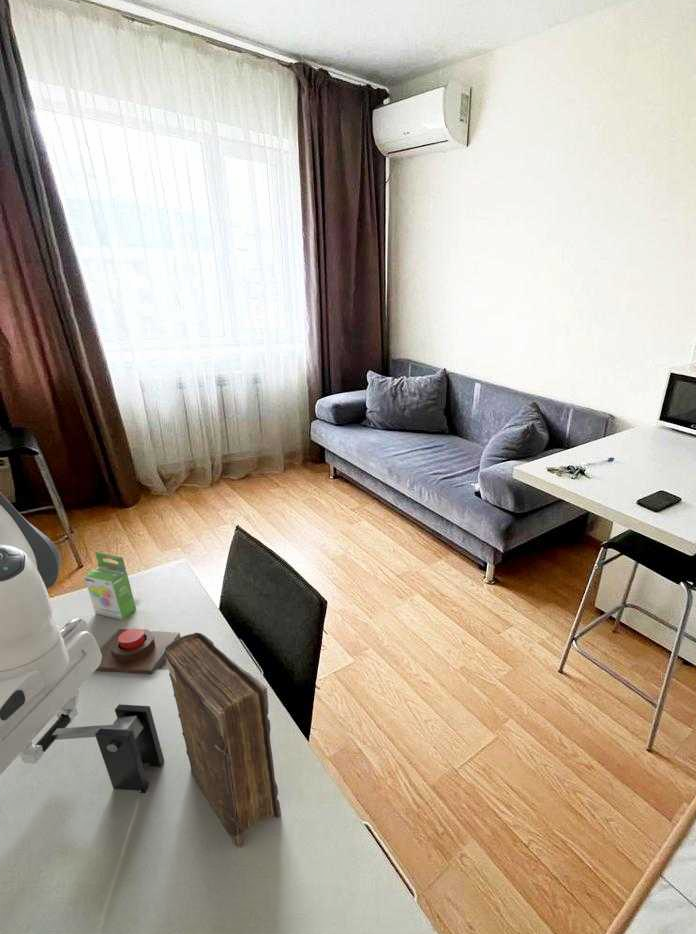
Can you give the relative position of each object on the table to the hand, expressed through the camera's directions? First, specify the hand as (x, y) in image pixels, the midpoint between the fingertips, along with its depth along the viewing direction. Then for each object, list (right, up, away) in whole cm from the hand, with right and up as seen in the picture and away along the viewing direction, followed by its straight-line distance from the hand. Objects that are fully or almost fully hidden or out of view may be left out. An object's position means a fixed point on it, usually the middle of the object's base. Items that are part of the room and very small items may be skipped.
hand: (52, 738), depth 69 cm
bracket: (+10, -8, +4) cm, 14 cm away
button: (-4, +6, +24) cm, 25 cm away
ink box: (-16, +8, +36) cm, 40 cm away
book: (+24, -10, +3) cm, 26 cm away
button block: (-4, +3, +25) cm, 26 cm away
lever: (+6, 0, 0) cm, 6 cm away
